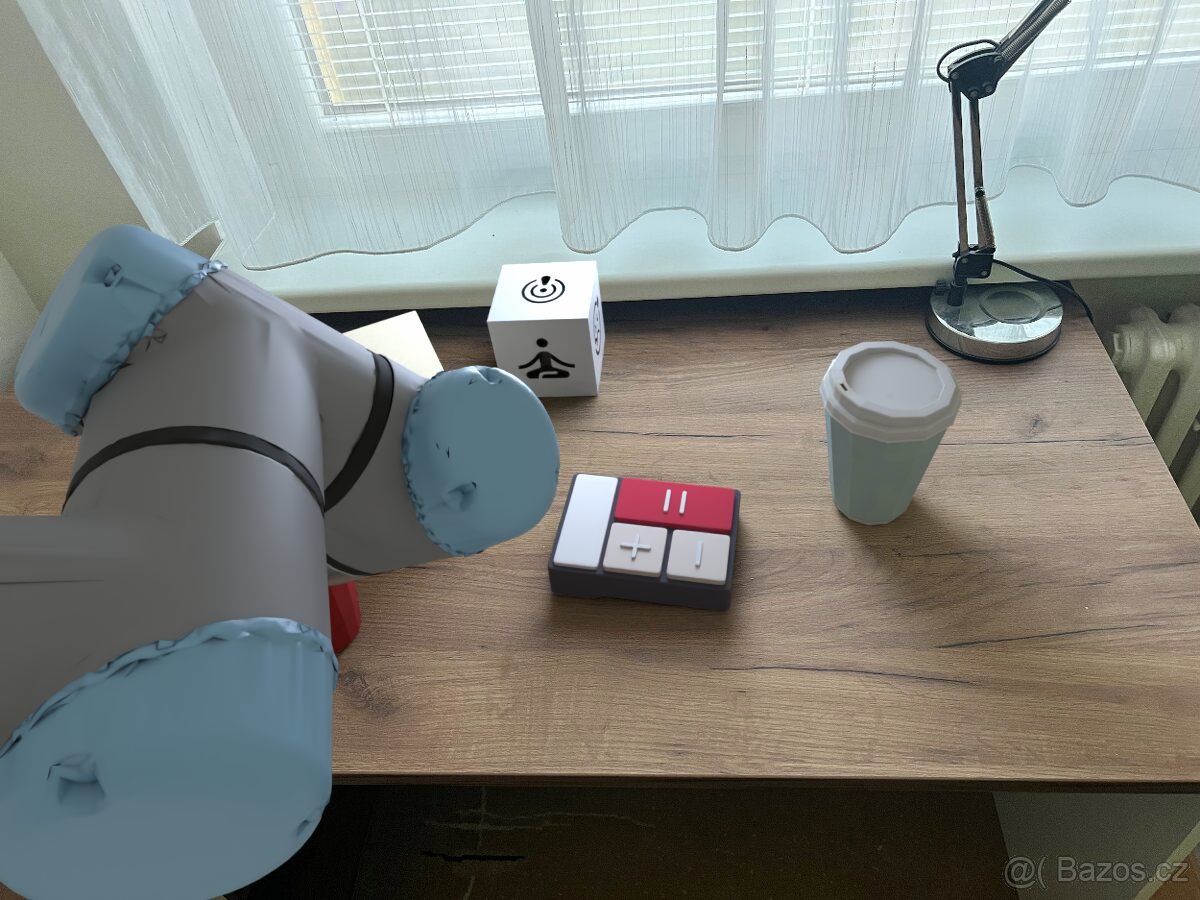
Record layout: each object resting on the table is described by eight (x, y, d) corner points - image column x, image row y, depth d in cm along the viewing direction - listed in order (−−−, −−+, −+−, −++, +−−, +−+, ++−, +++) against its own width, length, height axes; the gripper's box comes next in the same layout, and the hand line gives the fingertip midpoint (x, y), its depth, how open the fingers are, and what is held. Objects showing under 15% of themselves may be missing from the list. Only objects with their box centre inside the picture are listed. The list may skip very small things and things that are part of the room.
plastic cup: (295, 570, 79) (244, 479, 70) (407, 582, 76) (368, 489, 68) (238, 677, 71) (173, 589, 63) (359, 693, 69) (309, 604, 61)
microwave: (372, 540, 80) (327, 438, 71) (343, 446, 90) (300, 346, 81) (485, 498, 83) (455, 395, 74) (445, 411, 92) (415, 310, 83)
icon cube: (518, 339, 100) (502, 264, 93) (605, 336, 99) (596, 260, 92) (504, 397, 93) (486, 321, 86) (598, 395, 92) (587, 318, 85)
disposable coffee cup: (894, 446, 82) (919, 316, 72) (959, 528, 75) (997, 397, 64) (789, 476, 81) (799, 349, 70) (845, 564, 73) (865, 435, 63)
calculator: (731, 585, 68) (545, 562, 71) (728, 617, 71) (549, 594, 74) (742, 483, 76) (573, 465, 78) (738, 515, 79) (576, 497, 81)
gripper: (287, 784, 41) (121, 779, 55) (440, 367, 54) (274, 448, 68) (134, 733, 37) (-5, 742, 51) (340, 294, 50) (184, 396, 64)
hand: (155, 574), depth 59 cm, fingers open, 13 cm apart
